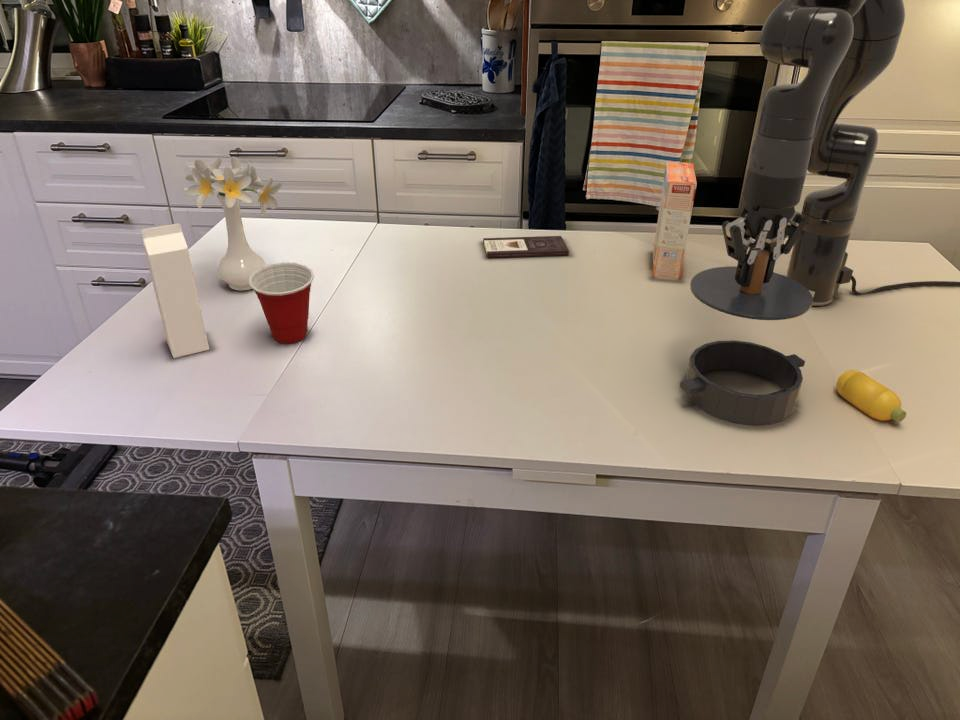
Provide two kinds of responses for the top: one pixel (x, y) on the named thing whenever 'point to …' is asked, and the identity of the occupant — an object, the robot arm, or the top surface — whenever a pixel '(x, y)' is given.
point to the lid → (752, 292)
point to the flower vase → (233, 213)
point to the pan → (742, 404)
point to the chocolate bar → (525, 246)
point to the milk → (175, 289)
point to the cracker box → (673, 219)
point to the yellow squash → (870, 396)
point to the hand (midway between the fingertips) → (752, 282)
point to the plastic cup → (284, 299)
